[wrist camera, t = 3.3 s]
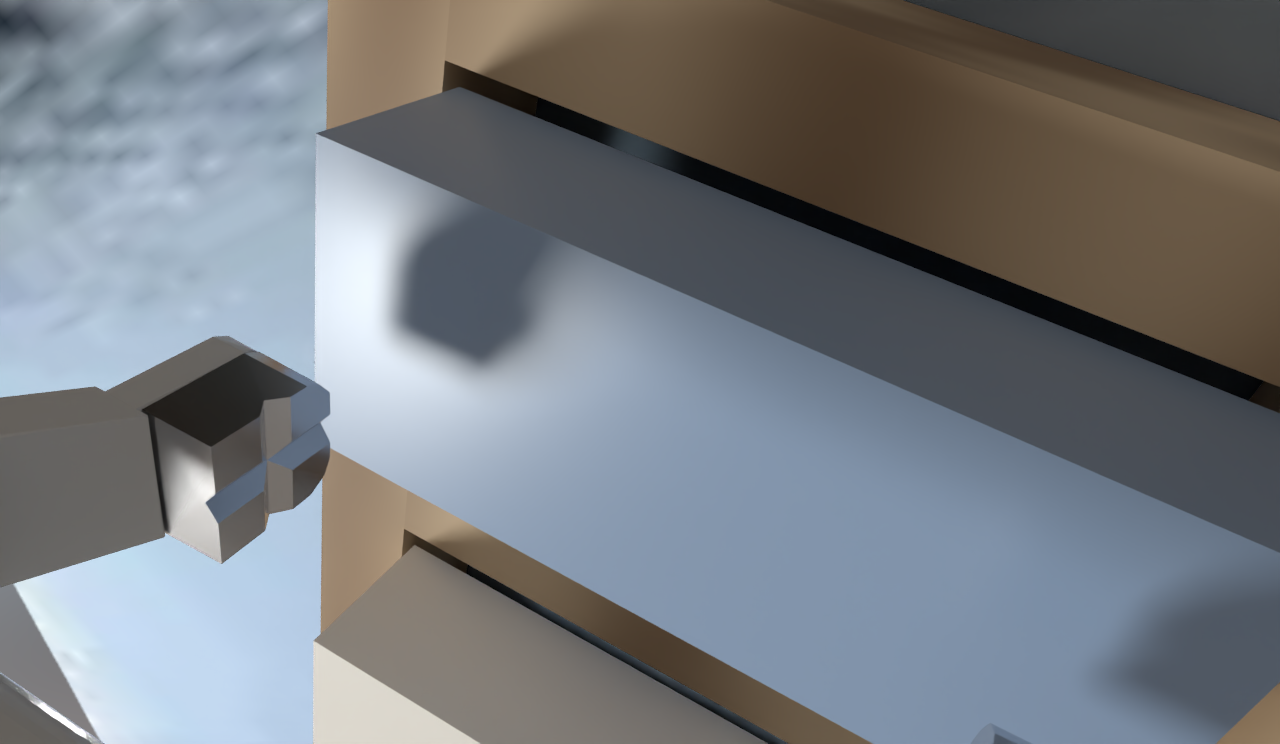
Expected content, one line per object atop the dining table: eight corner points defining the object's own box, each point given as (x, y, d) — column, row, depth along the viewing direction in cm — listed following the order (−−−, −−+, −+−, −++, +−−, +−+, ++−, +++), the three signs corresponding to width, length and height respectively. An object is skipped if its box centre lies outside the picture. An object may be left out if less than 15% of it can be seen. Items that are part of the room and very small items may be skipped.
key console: (1629, 233, 11) (1775, 337, 8) (947, 947, 22) (926, 1077, 20) (456, -143, 15) (329, -146, 12) (392, 619, 26) (320, 693, 24)
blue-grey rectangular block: (1315, 427, 10) (1371, 592, 8) (1097, 683, 13) (1092, 862, 11) (459, 86, 13) (316, 132, 11) (433, 356, 16) (314, 439, 14)
